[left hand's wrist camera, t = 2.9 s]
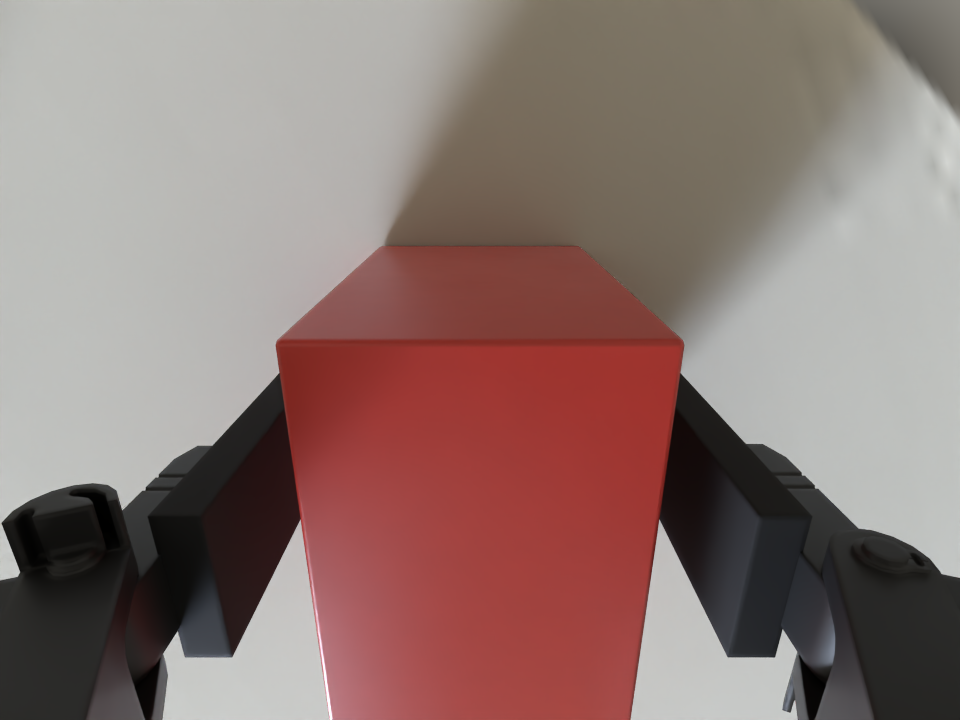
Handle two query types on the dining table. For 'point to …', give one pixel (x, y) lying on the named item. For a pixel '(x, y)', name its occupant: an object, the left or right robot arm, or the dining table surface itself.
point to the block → (479, 481)
